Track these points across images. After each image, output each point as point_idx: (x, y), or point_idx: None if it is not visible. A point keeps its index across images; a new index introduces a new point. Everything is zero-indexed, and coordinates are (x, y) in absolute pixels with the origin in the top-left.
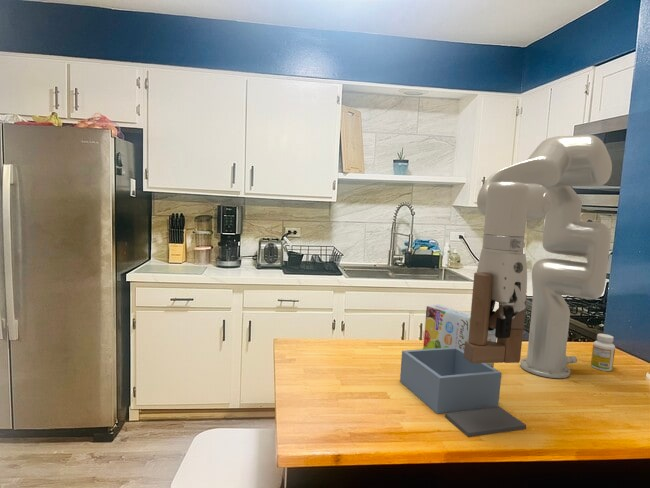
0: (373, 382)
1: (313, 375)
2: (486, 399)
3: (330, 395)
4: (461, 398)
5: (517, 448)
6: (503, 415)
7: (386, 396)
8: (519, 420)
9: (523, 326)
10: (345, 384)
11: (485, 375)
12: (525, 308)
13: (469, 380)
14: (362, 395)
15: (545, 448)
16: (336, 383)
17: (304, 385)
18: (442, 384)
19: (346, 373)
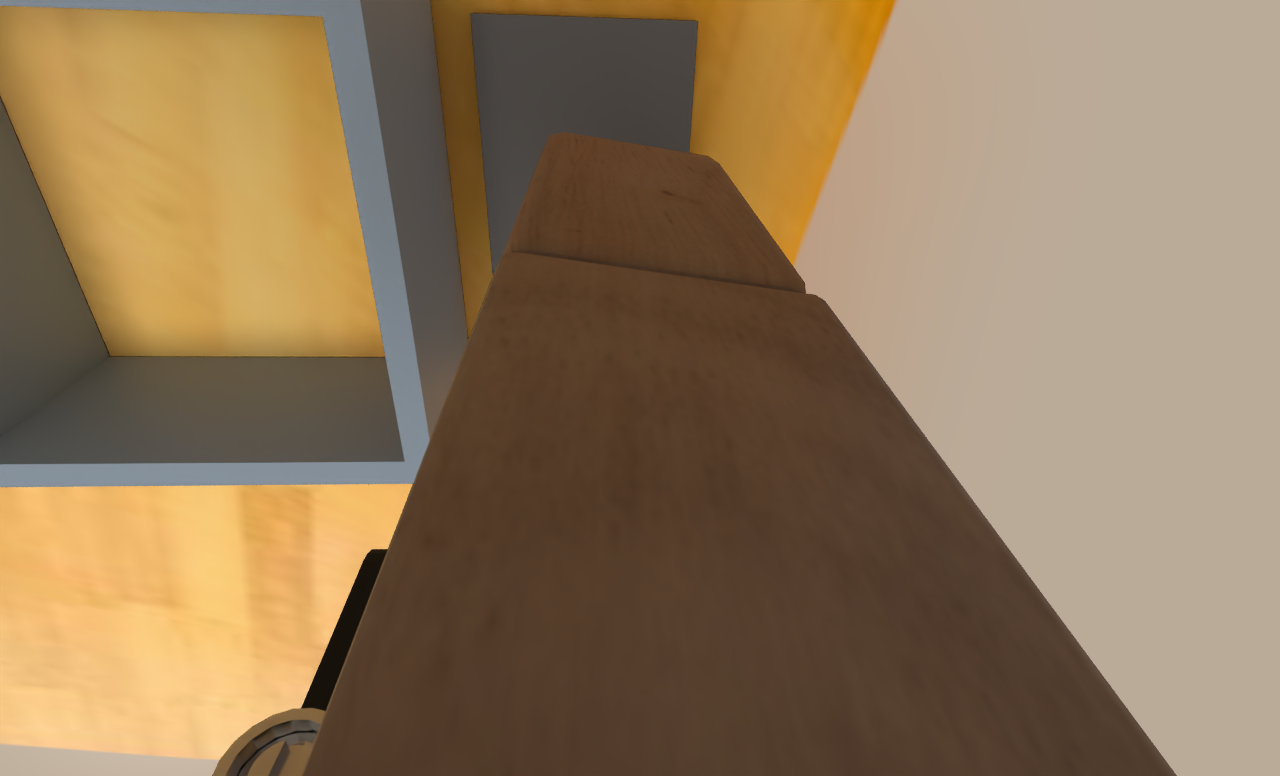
0: (131, 493)
1: (91, 669)
2: (427, 91)
3: (286, 657)
4: (445, 281)
5: (811, 214)
6: (574, 78)
7: (289, 495)
8: (645, 20)
9: (832, 318)
10: (172, 595)
11: (388, 150)
12: (1033, 586)
13: (413, 275)
14: (282, 570)
15: (866, 75)
16: (166, 619)
17: (200, 705)
18: None
19: (35, 563)
